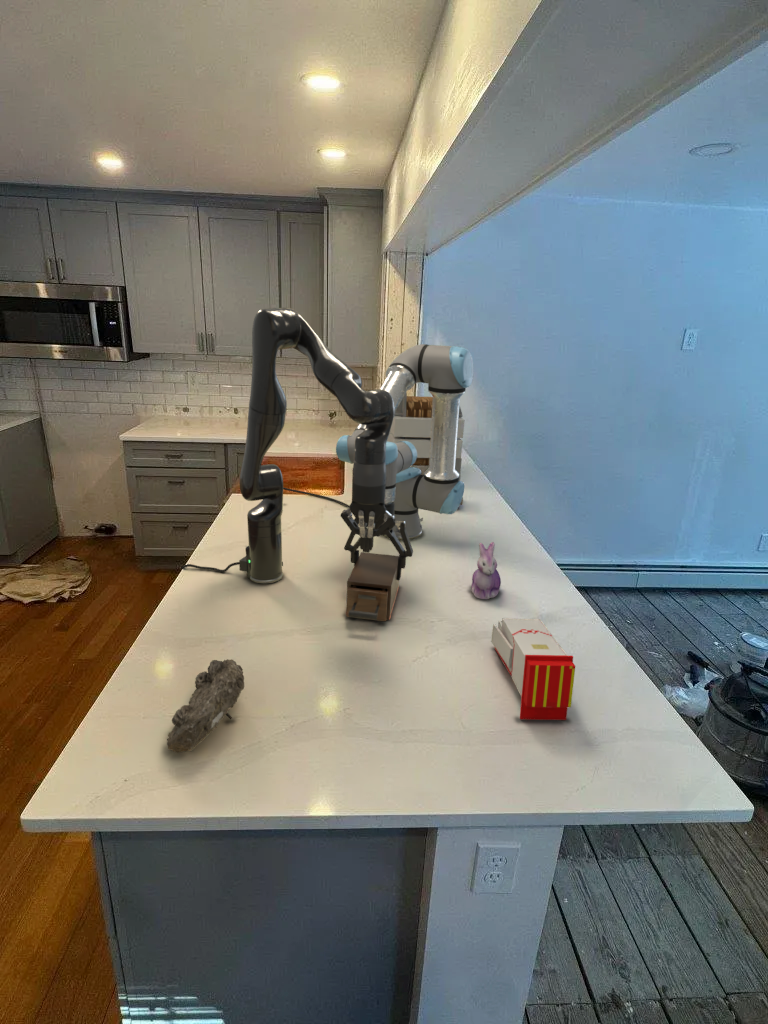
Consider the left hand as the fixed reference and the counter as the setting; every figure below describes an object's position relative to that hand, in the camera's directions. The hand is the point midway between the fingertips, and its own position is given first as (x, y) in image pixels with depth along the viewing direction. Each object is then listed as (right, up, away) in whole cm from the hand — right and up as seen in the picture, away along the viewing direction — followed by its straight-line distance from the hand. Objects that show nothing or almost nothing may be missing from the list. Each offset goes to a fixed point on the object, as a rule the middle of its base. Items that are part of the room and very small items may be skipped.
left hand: (366, 550), depth 133 cm
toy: (+35, -27, -9) cm, 45 cm away
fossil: (-29, -30, -25) cm, 48 cm away
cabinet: (+1, -15, +21) cm, 25 cm away
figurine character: (+32, +12, +99) cm, 105 cm away
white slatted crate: (+21, +28, +142) cm, 146 cm away
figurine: (+33, -14, +28) cm, 45 cm away
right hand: (+2, -8, +23) cm, 25 cm away
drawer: (0, -16, +15) cm, 22 cm away
